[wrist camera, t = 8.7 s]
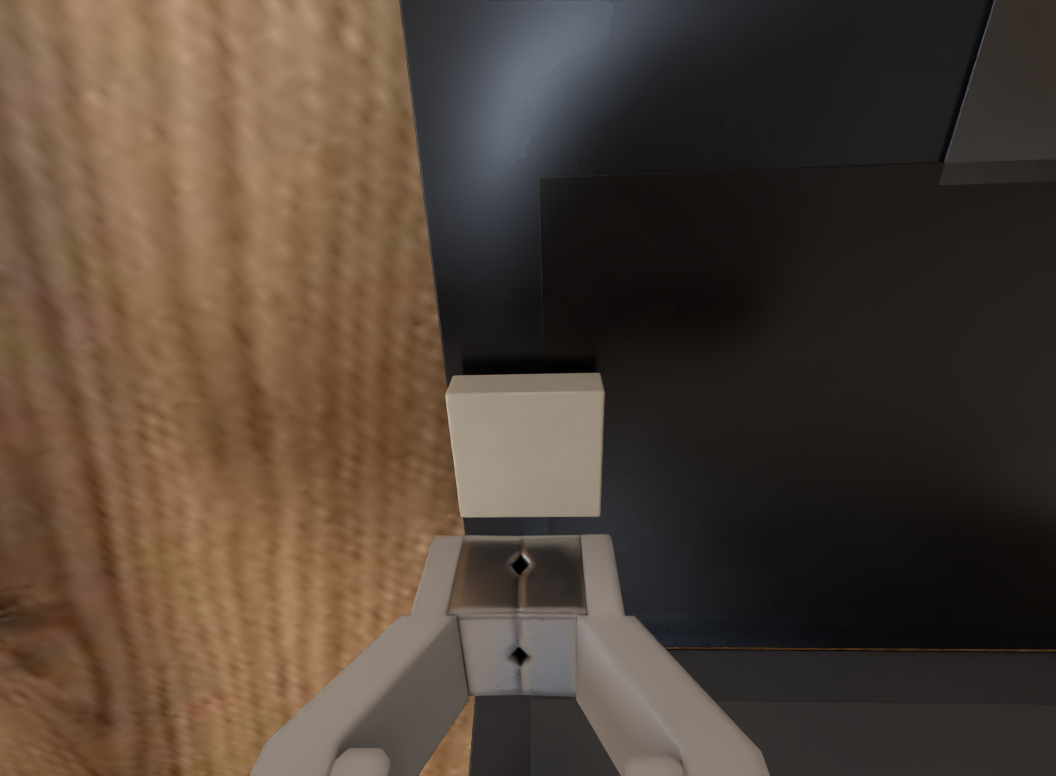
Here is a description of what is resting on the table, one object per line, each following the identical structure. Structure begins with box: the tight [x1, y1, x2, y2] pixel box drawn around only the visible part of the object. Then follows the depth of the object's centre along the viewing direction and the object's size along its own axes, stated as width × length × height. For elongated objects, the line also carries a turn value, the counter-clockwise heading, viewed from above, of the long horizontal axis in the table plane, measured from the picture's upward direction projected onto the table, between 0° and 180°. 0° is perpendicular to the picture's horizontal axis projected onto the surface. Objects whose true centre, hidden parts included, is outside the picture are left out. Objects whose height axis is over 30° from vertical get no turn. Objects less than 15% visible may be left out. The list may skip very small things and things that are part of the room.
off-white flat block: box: [445, 373, 605, 517], centre depth 11 cm, size 3×3×1 cm
